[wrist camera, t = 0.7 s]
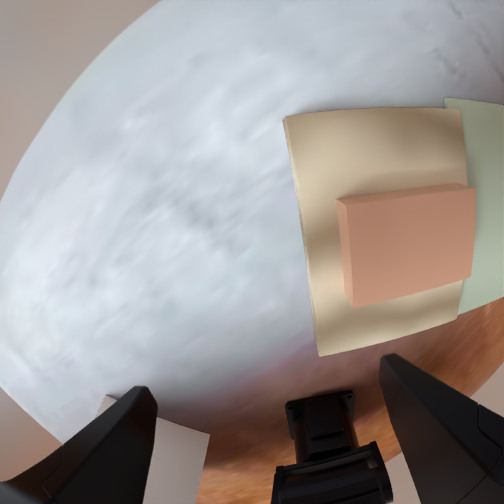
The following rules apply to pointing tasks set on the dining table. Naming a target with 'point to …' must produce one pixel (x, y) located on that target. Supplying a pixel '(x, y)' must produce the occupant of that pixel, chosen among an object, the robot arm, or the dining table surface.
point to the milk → (172, 462)
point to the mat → (484, 198)
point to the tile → (406, 241)
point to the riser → (362, 183)
